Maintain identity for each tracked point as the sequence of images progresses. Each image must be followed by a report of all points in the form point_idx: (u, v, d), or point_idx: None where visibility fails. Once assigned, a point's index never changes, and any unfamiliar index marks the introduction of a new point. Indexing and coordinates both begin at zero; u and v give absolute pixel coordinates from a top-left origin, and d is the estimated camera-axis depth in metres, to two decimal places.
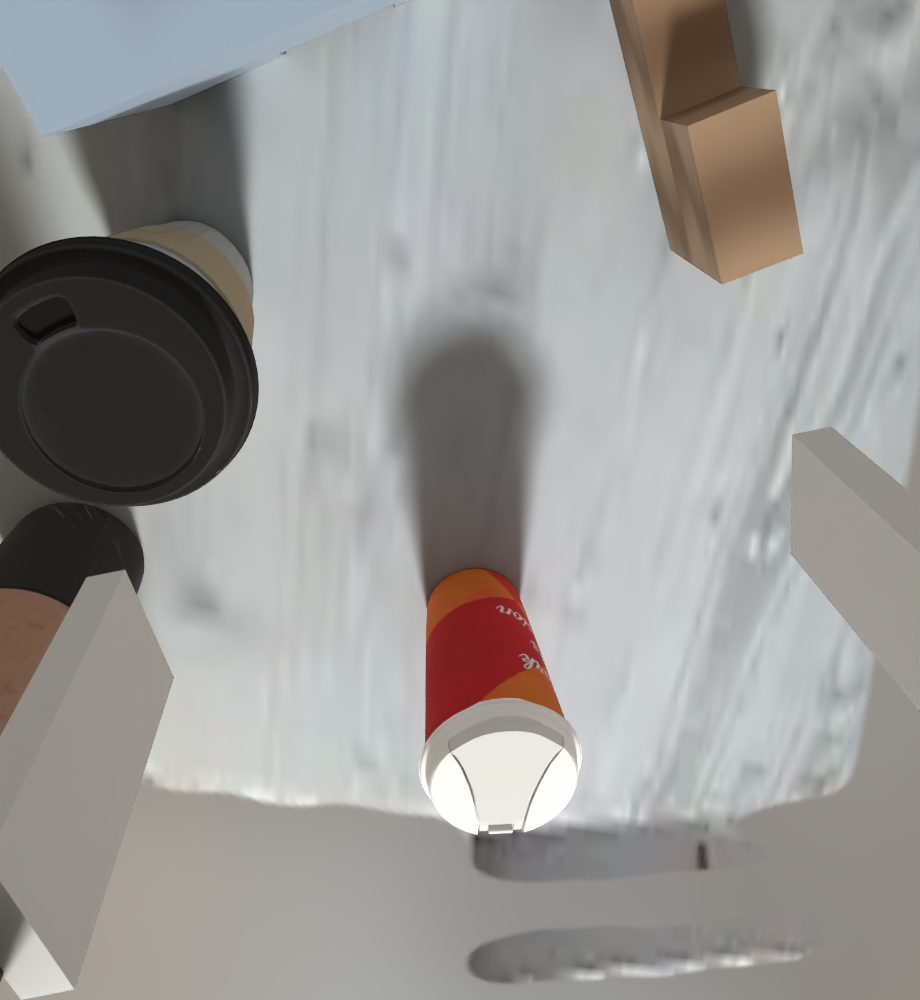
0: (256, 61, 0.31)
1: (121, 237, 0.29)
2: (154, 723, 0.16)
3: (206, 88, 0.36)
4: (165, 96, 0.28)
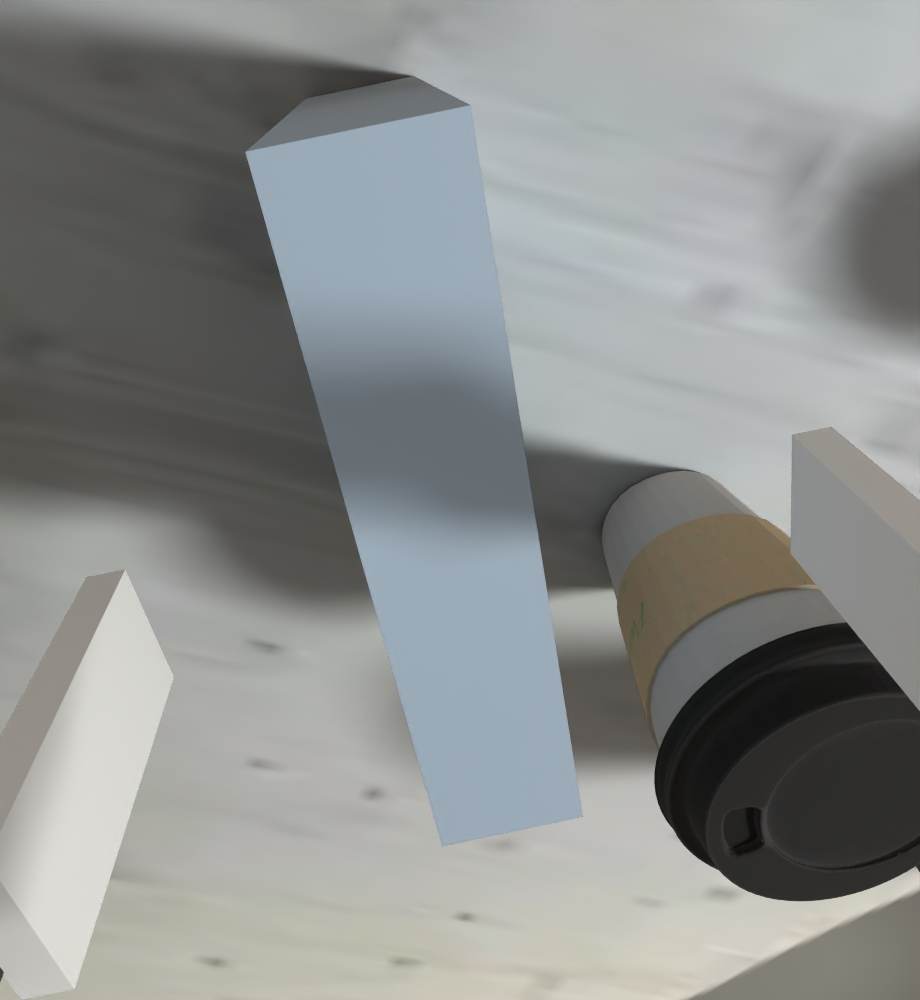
0: None
1: (651, 674, 0.26)
2: (154, 723, 0.16)
3: None
4: None
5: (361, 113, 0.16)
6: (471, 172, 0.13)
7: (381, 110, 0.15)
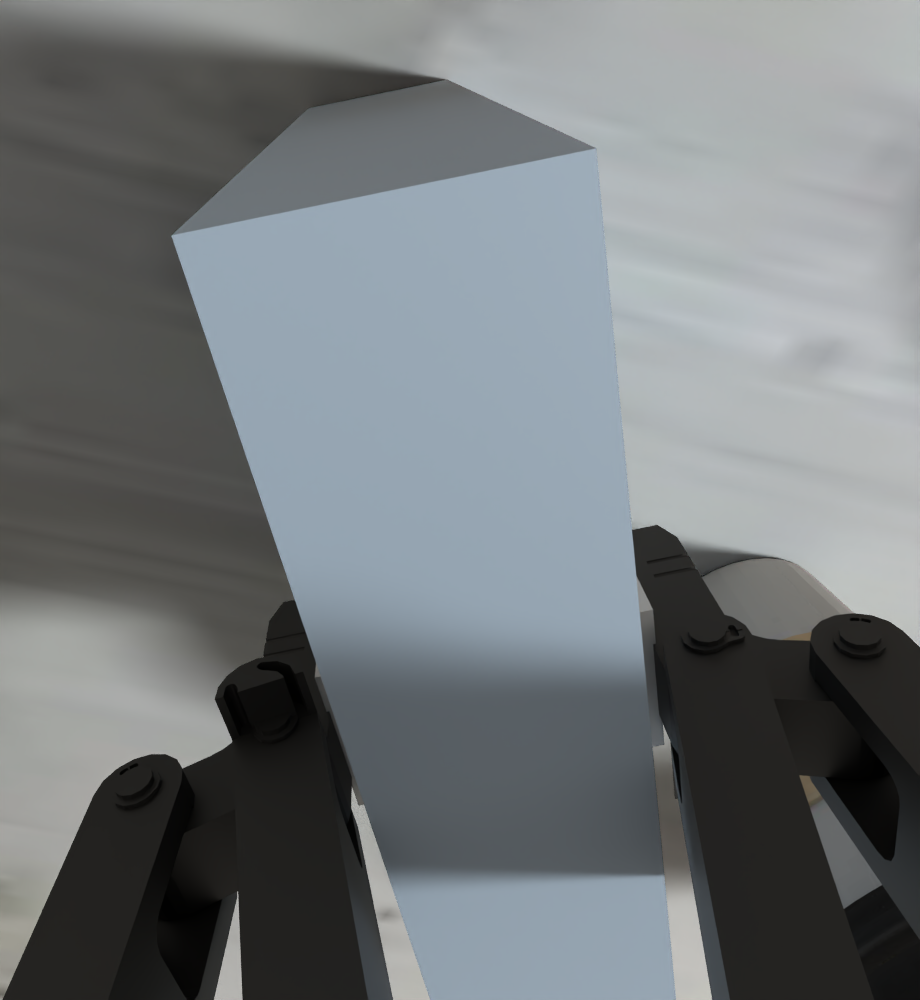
0: None
1: None
2: None
3: None
4: None
5: (385, 147, 0.10)
6: (590, 269, 0.07)
7: (418, 144, 0.09)
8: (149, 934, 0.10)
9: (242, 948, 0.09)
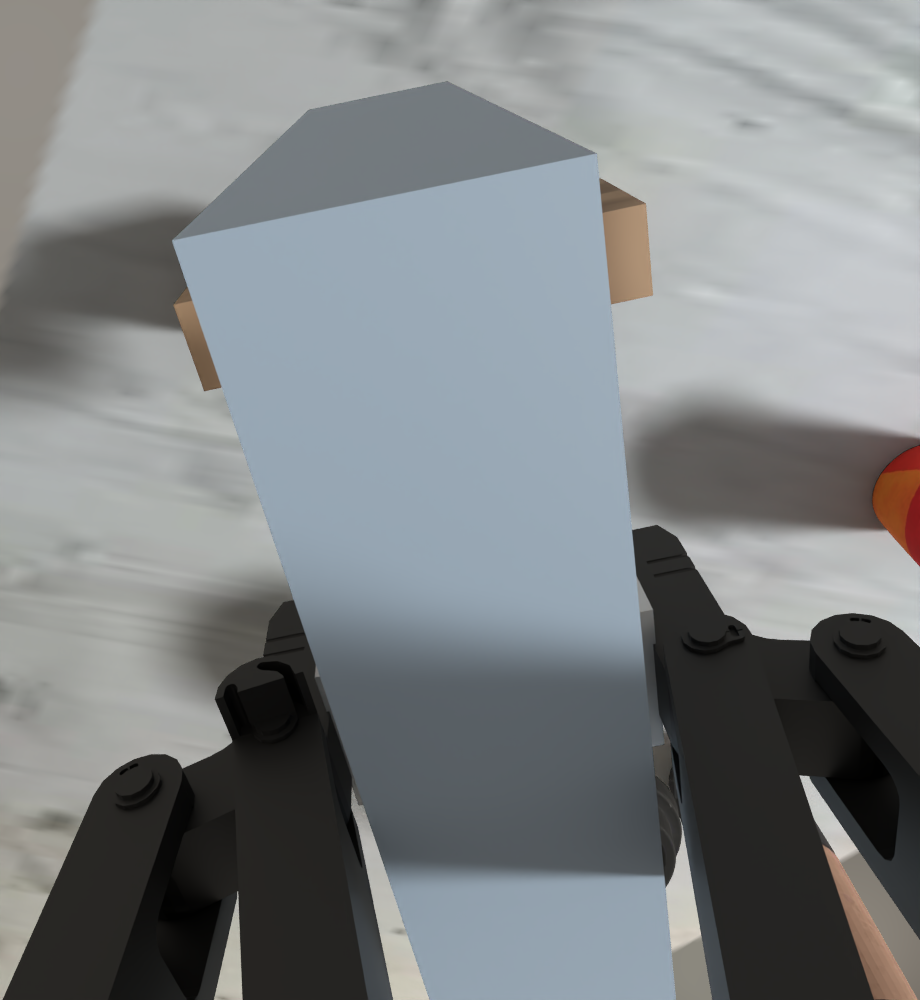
0: None
1: None
2: None
3: None
4: None
5: (386, 151, 0.10)
6: (591, 274, 0.07)
7: (419, 148, 0.09)
8: (150, 933, 0.10)
9: (242, 948, 0.09)
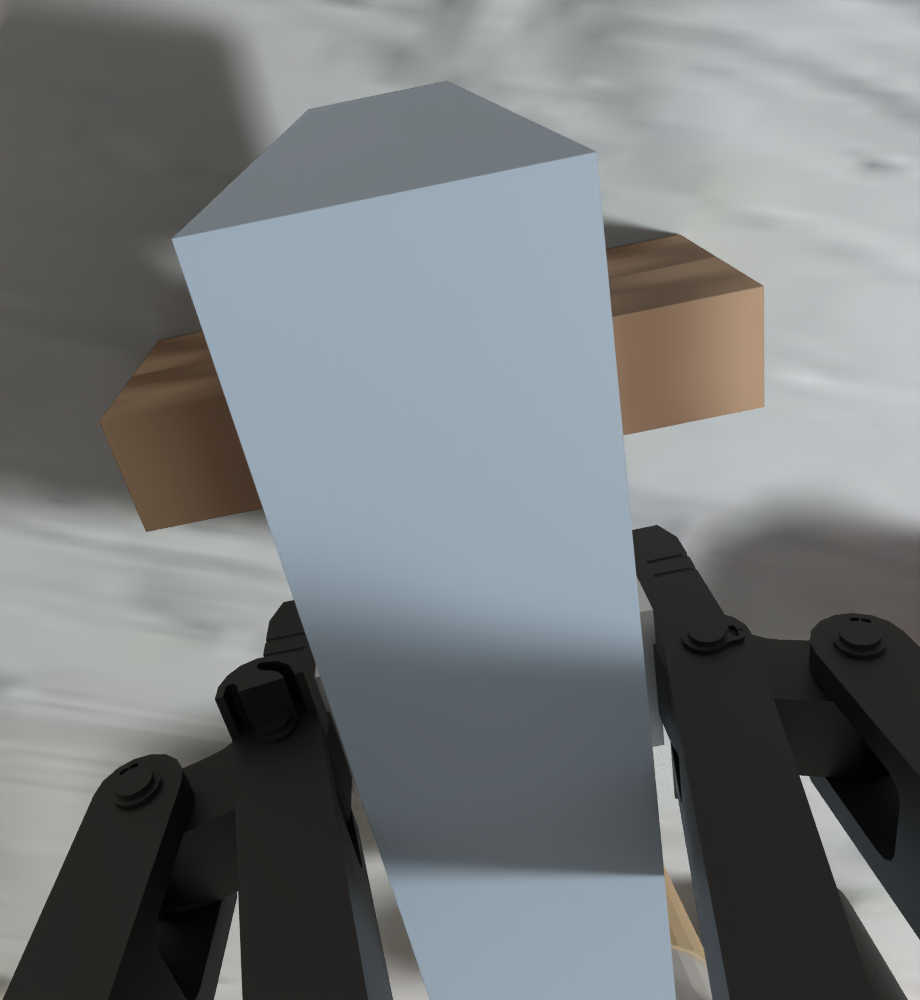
0: None
1: None
2: None
3: None
4: None
5: (385, 150, 0.10)
6: (591, 272, 0.07)
7: (419, 146, 0.09)
8: (149, 934, 0.10)
9: (242, 948, 0.09)
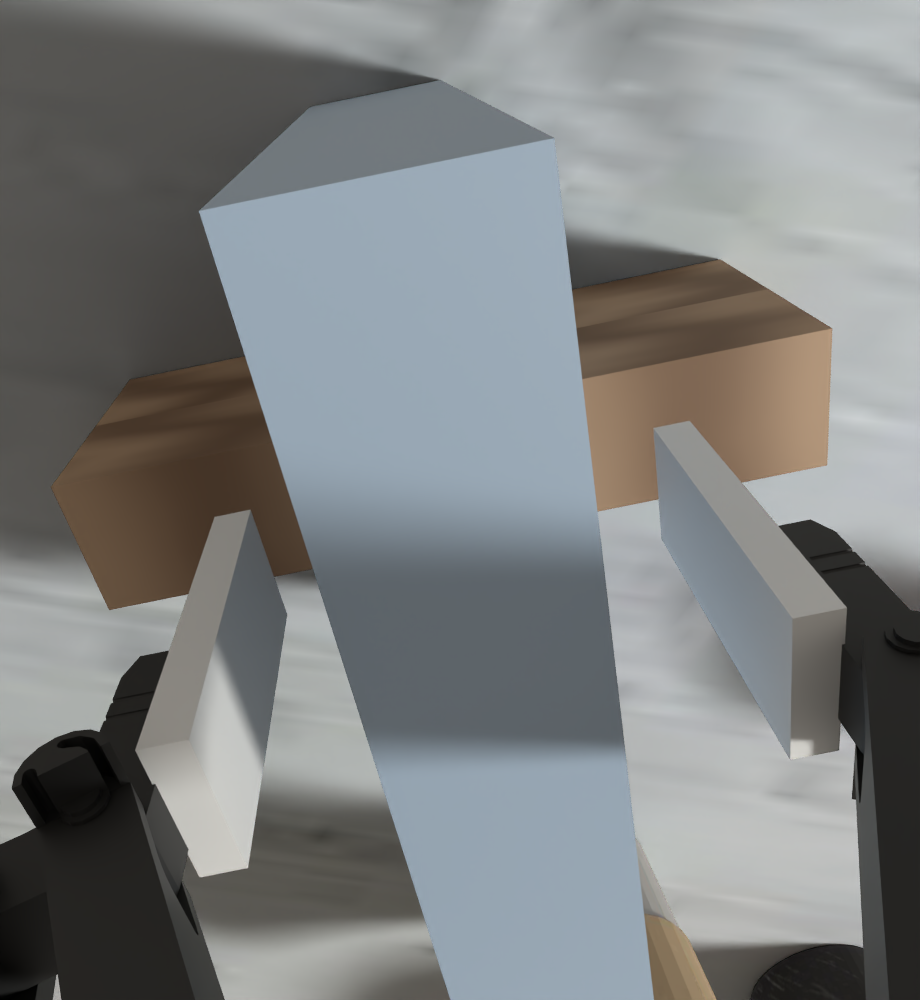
0: None
1: None
2: (278, 652, 0.17)
3: None
4: None
5: (380, 140, 0.11)
6: (551, 240, 0.09)
7: (408, 136, 0.11)
8: None
9: None
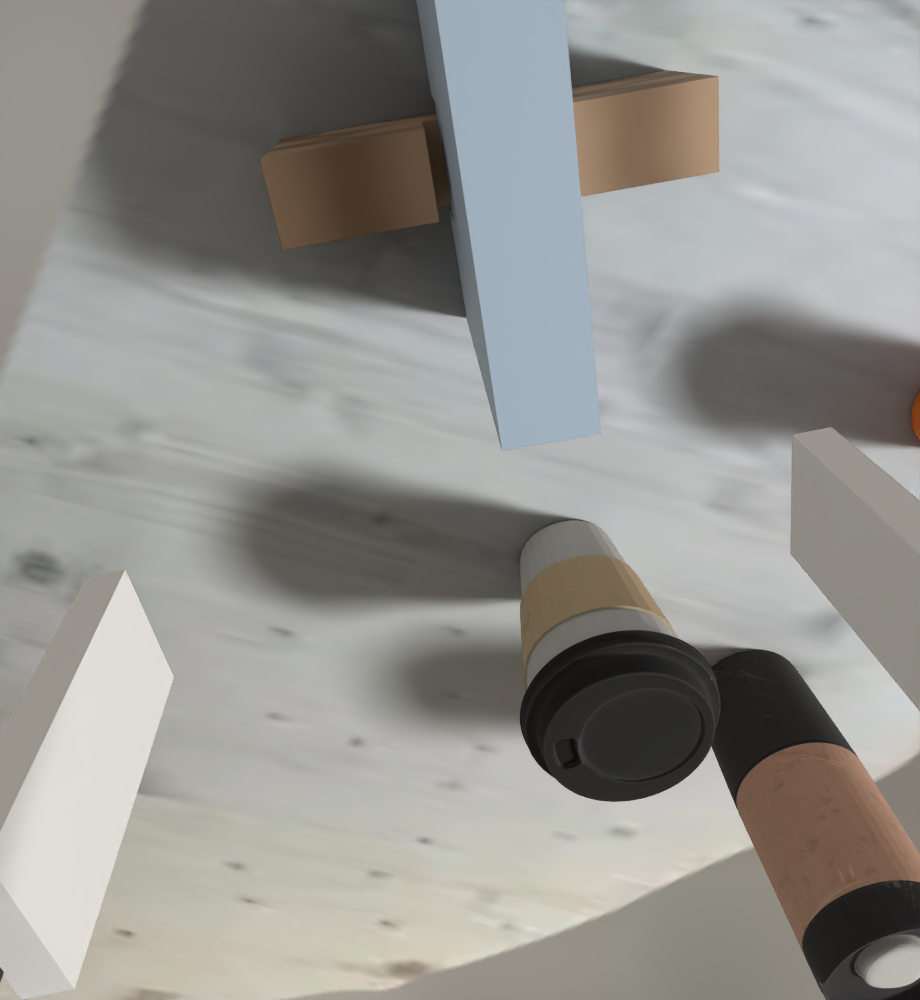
0: None
1: (526, 658, 0.42)
2: (154, 723, 0.16)
3: None
4: None
5: None
6: None
7: None
8: None
9: None
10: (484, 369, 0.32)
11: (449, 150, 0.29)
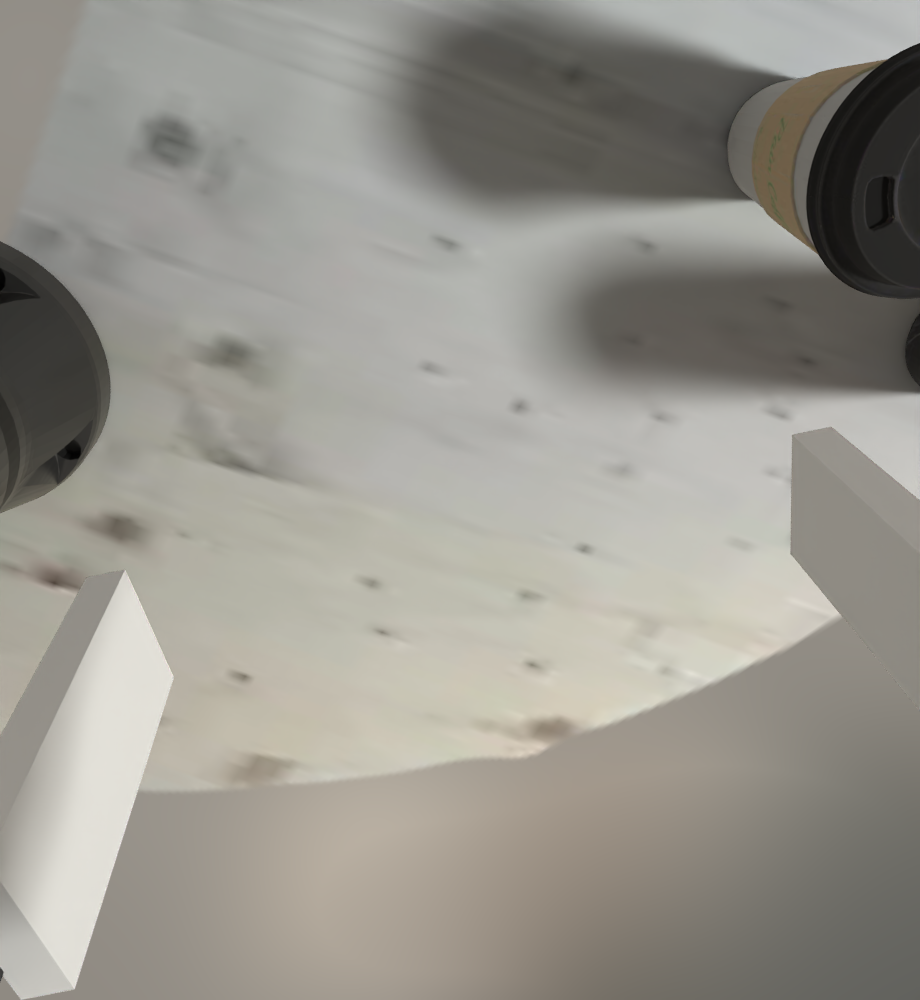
0: None
1: (796, 144, 0.34)
2: (154, 723, 0.16)
3: None
4: None
5: None
6: None
7: None
8: None
9: None
10: None
11: None
